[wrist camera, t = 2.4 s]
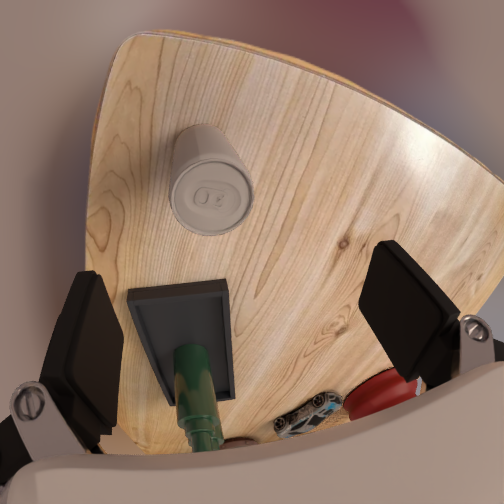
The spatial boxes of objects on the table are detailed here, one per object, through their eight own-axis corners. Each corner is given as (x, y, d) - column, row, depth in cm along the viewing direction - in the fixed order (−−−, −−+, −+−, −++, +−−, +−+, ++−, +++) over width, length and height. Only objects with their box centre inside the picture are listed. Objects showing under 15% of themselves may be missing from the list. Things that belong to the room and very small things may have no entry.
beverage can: (219, 177, 27) (242, 244, 18) (169, 167, 26) (160, 231, 16) (234, 129, 25) (268, 168, 15) (181, 117, 23) (178, 147, 14)
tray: (169, 396, 46) (169, 406, 45) (128, 289, 32) (126, 301, 30) (233, 389, 48) (235, 399, 47) (226, 278, 34) (228, 290, 32)
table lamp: (393, 357, 56) (479, 520, 20) (418, 370, 66) (487, 496, 30) (327, 405, 62) (389, 560, 26) (364, 410, 72) (418, 533, 36)
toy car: (343, 393, 60) (350, 410, 56) (287, 425, 65) (292, 442, 60) (327, 387, 56) (335, 406, 52) (268, 422, 61) (273, 440, 57)
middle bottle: (176, 366, 41) (186, 468, 28) (169, 345, 38) (177, 457, 25) (210, 363, 42) (228, 463, 29) (206, 341, 39) (225, 452, 26)
